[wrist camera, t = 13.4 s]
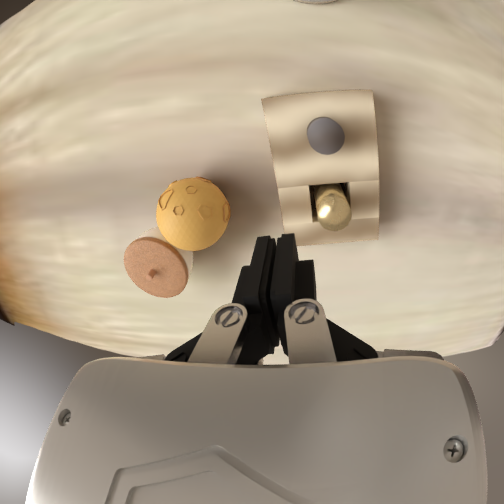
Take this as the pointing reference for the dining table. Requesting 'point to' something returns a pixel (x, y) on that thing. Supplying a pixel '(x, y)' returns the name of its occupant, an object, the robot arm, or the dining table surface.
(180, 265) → the lidded jar
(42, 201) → the dining table surface
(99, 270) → the dining table surface
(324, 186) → the brass cylinder
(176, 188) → the stress ball
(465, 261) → the dining table surface
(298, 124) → the jig
